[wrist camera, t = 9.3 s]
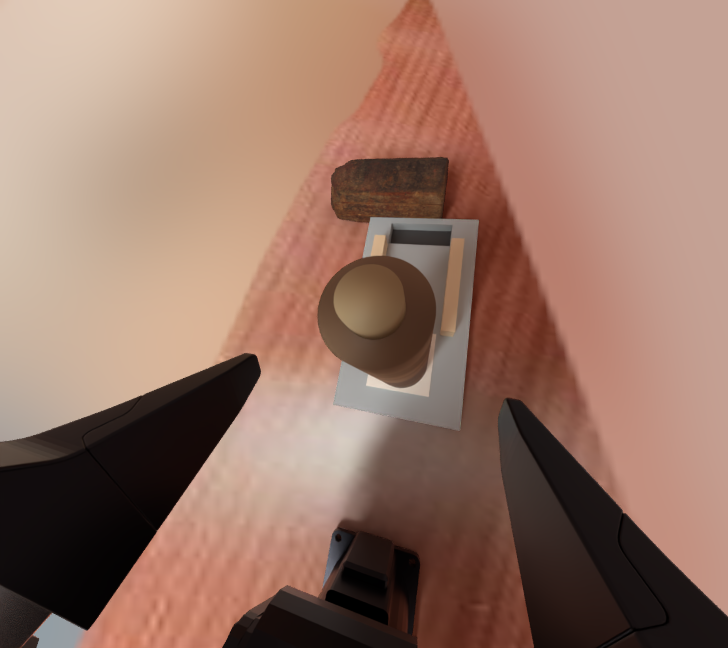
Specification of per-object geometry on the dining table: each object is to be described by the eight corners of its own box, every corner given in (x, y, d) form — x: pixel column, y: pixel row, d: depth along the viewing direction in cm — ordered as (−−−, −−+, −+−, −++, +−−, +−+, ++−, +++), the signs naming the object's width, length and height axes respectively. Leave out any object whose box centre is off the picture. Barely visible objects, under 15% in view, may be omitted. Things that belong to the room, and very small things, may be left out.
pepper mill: (423, 392, 20) (429, 376, 7) (371, 383, 22) (289, 353, 8) (430, 339, 21) (445, 239, 8) (379, 333, 22) (319, 234, 9)
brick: (445, 194, 27) (450, 153, 22) (440, 228, 26) (444, 193, 21) (346, 192, 29) (333, 155, 25) (338, 223, 28) (323, 191, 24)
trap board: (457, 429, 21) (463, 433, 18) (337, 404, 23) (326, 405, 20) (476, 227, 25) (482, 207, 22) (372, 224, 27) (367, 206, 25)
